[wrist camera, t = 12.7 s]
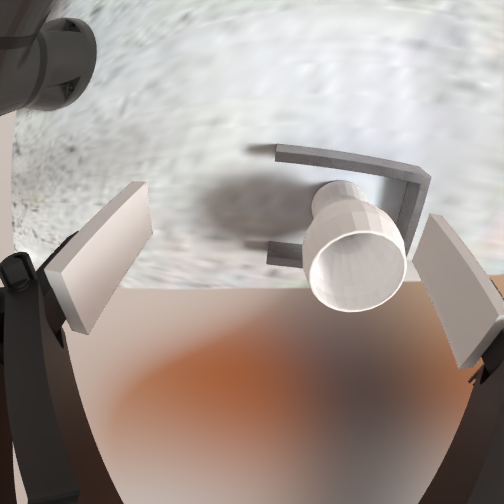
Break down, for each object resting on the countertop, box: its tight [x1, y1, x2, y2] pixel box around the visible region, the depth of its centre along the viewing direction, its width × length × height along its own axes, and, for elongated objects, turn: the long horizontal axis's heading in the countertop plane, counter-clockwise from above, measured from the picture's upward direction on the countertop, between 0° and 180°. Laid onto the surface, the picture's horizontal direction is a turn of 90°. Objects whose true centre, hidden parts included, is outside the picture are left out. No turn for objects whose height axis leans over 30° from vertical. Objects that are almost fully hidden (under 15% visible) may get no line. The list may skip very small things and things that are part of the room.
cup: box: [302, 181, 407, 312], centre depth 32 cm, size 11×11×15 cm
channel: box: [266, 144, 431, 268], centre depth 37 cm, size 19×15×4 cm
